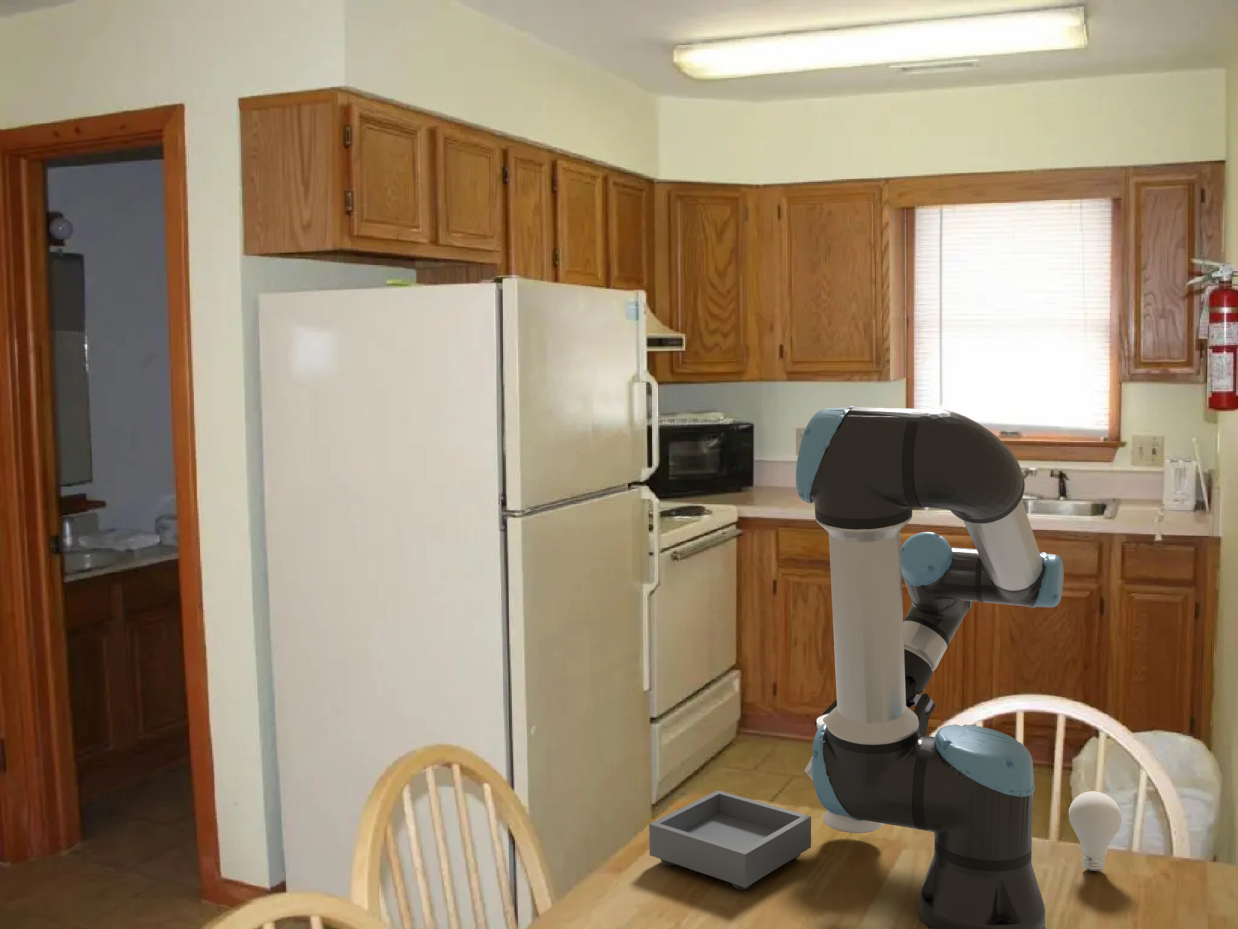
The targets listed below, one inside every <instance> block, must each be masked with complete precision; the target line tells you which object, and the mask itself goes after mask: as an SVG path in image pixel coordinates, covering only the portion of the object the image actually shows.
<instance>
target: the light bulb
mask: <svg viewBox="0 0 1238 929" xmlns="http://www.w3.org/2000/svg"><path fill="white" fill-rule="evenodd" d="M1069 806H1070V807H1069V809H1068V819H1069V823H1070V826H1071V827H1072V830H1073V831H1074V832H1075V833H1074V834H1075V835H1076V837H1077V838H1078V841H1079V846H1080V852H1081V853H1082V856H1081V866H1082V867H1083V868H1084V869H1086V870H1088V871H1089V870H1090V872H1092V871H1094V872H1093V873H1096V872H1095V871H1097V872H1101V871H1103V870H1104V868H1105V867H1106V856H1107V854H1108V852H1109V851H1108V850H1109V847H1110V846H1109V845H1110V844H1111V842H1112V840H1113V839H1114V837H1115V836H1116V835H1117V833H1118V832H1119V831H1120V828H1121V825H1122V813H1121V809H1120V808H1119V806H1118V804H1117V802H1116V801H1115V800H1114V799H1113V798H1112V797H1110V796H1109V795H1107V794H1105V793H1103V792H1100V791H1093V790H1090V791H1085V792H1082V793H1080V794H1078V795H1077V796H1076V797H1075V798H1074V799H1073V800H1072V801H1071V803H1070V805H1069Z"/></svg>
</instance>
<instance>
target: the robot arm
mask: <svg viewBox="0 0 1238 929" xmlns="http://www.w3.org/2000/svg"><path fill="white" fill-rule="evenodd" d="M799 444H800V445H799V449H798V451H797V459H796V466H795V487H796V491H797V494H798V497H799V498H800V500H802V501H803V502H806V503H807V504H814V516H815V521H816V523H817V524H818V525H819V526H821V528H823V529H824V530H825V531H827V533H828V546H829V566H830V567H829V568H830V569H829V570H830V584H831V585H830V586H831V588H830V589H831V607H832V609H831V610H832V624H833V625H832V628H833V630H832V631H833V644H834V645H833V647H834V648H833V649H834V668H835V669H834V670H835V671H834V672H835V687H836V688H835V691H836V693H835V694H836V699H835V700H834V701H833V702H832V703H831V704H830V705H829V706H828V707H827V708H826V709H825V711H823V713H822V714H821V715H820V716H822V715H825V714H828V716H827V718H826V723H824V724H822V725H821V726H820V727H819V729H818V728H817V719H816V720H815V721H814V726H815V727H816V728H817V731H816V733H815V734H814V735H815V736H814V738H813V743H812V749H811V750H812V754H813V755H812V756H811V758H810V760H809V761H808V764H807V765H806V767H805V769H804V770H803V771H804V772H805V773H806V775H807V776H808V777H809V778H810V779H811V781H813V782H812V783H813V785H814V790H815V794H816V796H817V798H818V800H819V802H820V804H821V806H823V808H824V809H827V810H828V811H830V812H831V813H833V814H836V815H841V816H846V817H849V818H852V819H854V820H857V821H863V820H866V821H872V822H878V823H883V825H884V824H885V825H890V826H895V827H902V828H906V829H907V828H908V829H913V830H915V829H916V830H921V831H927V832H931V833H934V836H933V837H934V844H933V845H934V851H933V856H932V857H931V858H932V859H931V861H930V865H929V866H928V869H927V872H926V875H925V878H924V879H923V883H922V886H921V888H920V891H919V899H918V900H919V901H918V902H919V906H918V907H919V909H918V911H919V912H918V913H919V916H920V918H921V920H922V922H924V924H926V926H928V927H929V926H930V927H931V929H932V928H933V929H1045V928H1044V927H1046V906H1045V903H1044V899H1043V895H1042V893H1041V889H1040V887H1039V883H1038V880H1037V876H1036V874H1035V871H1034V868H1033V864H1032V861H1033V860H1032V852H1033V851H1032V850H1033V849H1032V848H1033V810H1034V808H1033V807H1034V792H1035V790H1036V784H1035V781H1034V763H1033V762H1034V761H1033V758H1032V755H1031V752H1030V751H1029V750H1028V748H1027V747H1026V746H1025V745H1024V744H1023V743H1022V742H1020V741H1018V740H1017V739H1016V738H1014V737H1012V736H1011V735H1008V734H1007V733H1003V732H1001V731H999V730H995V729H992V728H988V727H984V726H980V725H973V724H963V725H960V724H948V725H944V726H943V727H940V728H939V729H938V730H937V732H936V734H934V736H931V735H927V731H928V726H929V722H930V721H929V720H930V717H931V716H932V714H933V711H934V710H935V709H936V704H935V701H934V700H933V699H932V698H931V697H930V694H928V693H924V692H925V690H926V689H927V686H928V684H929V682H930V681H931V679H932V677H933V674H934V671H935V670H936V669H937V667H938V666H939V663H940V661H941V659H942V658H943V656H944V654H945V653H946V650H947V649H948V647H949V645H950V643H951V642H952V640H953V638H954V637H955V635H956V632H957V631H958V630H959V628H960V625H961V624H962V622H963V621H964V619H965V616H966V615H967V614H968V613H969V611H970V610H971V608H972V603H973V602H977V603H987V604H996V605H997V604H998V605H999V604H1000V605H1010V606H1021V607H1028V608H1031V609H1032V608H1033V609H1034V608H1035V609H1036V608H1055V607H1056V606H1058V605H1060V602H1061V600H1062V596H1063V589H1064V579H1065V578H1064V575H1065V573H1064V562H1063V559H1062V558H1061V556H1060V555H1057V554H1052V553H1046V552H1041V551H1040V549H1039V546H1038V544H1037V540H1036V537H1035V534H1034V532H1033V528H1032V526H1031V523H1030V519H1029V517H1028V513H1027V511H1026V507H1025V505H1024V501H1023V499H1024V494H1025V489H1026V485H1025V483H1026V482H1025V476H1024V474H1023V471H1022V468H1021V466H1020V463H1019V461H1018V459H1017V458H1016V456H1015V455H1014V453H1013V452H1012V450H1010V448H1009V447H1008V446H1007V445H1006V444H1005V443H1004V442H1003V441H1002V440H1001V439H1000V438H999V437H998V436H997V435H996V434H994V433H993V432H992V431H990V430H989V429H988V428H986V427H985V426H983V425H982V424H980V423H978V421H975V420H974V419H971V418H970V417H968V416H966V415H962V414H959V413H957V412H954V411H951V410H947V409H942V408H928V407H927V408H904V407H903V408H902V407H900V408H899V407H898V408H897V407H871V406H869V407H868V406H867V407H866V406H856V405H850V406H846V407H843V406H841V407H827V408H823V409H820V410H818V411H817V412H816V413H814V414H813V416H812V417H811V418H810V419H809V421H808V423H807V425H806V427H805V429H804V432H803V435H802V437H801V441H800V443H799ZM913 508H921V509H922V508H930V509H942V510H948V511H950V512H951V513H952V515H954V516H955V517H957V518H958V519H959V520H961V521H963V523H964V525H965V528H966V530H967V532H968V534H969V536H970V539H971V541H972V543H973V545H974V547H975V548H968V547H967V548H966V547H952V546H951V545H950V543H949V542H948V541H947V539H946V538H945V537H943V536H941V535H939V534H938V533H935V532H931V531H922V532H918V533H916V534H913V535H912V536H909V538H907V539H906V540H905V541H904V543H903V544H902V543H901V530H903V528H904V527H905V526H906V525H907V524H908V523H909V522H910V521H911V520H912V518H913ZM902 579H903V580H902ZM903 581H904V583H905V586H906V588H907V591H908V594H909V597H910V601H911V604H910V605H911V606H910V607H909V609H908V611H907V613H906V614H905V616H904V611H903V610H904V608H903V607H904V606H903V583H902V582H903ZM912 707H914V709H913V710H912V709H911V708H912ZM827 810H826V811H827ZM930 927H929V928H930Z"/></svg>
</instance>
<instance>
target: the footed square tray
mask: <svg viewBox="0 0 1238 929" xmlns="http://www.w3.org/2000/svg"><path fill="white" fill-rule="evenodd" d="M648 824H649V826H648V828H649V833H648V834H649V837H648V839H649V856H651V857H654V858H657V859H660V861H661V863H662V864H664V865H665V866H667V867H668V866H669V867H670V866H675V865H678V866H680V867H684V868H687V869H689V870H692V871H695V872H698V873H701V874H704V875H707V876H711V877H713V878H716V879H719V880H721V881H725V882H727V883H730V884H731V885H732V886H733V887H734V888H735V889H736V890H738V891H746V890H748V889H750V887H751V886H752V884H754V883H756V882H757V881H758V880H760V879H762V878H763V877H765V876H767V875H769V874H770V873H772V872H773V871H775V870H777V869H778V868H780V867H782V866H783V865H785V864H787V863H788V862H790V861H792V860H796V859H798V858H799V857H800V856H801V854H803V853H804V852H806V851H808V850H809V849H811V848H812V816H811V815H807V814H804V813H801V812H800V813H799V812H798V811H797V812H796V811H793V810H789V809H785V808H782V807H778V806H776V805H773V804H772V805H771V804H768V803H764V802H761V801H758V800H753V799H750V798H748V797H747V798H746V797H744V796H740V795H737V794H732V793H729V792H727V791H726V792H725V791H722V790H719V789H718V790H715V791H713V792H711V793H709V794H707V795H705V796H703V797H701V798H699V799H696V800H695V801H693V802H690V803H689V804H687V805H685V806H682V807H681V808H678V809H677V810H676V809H675V811H672V812H670V813H669V814H666V815H665V816H662V817H661V818H658V819H656V820H654V821H652V822H651V823H648Z"/></svg>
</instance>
